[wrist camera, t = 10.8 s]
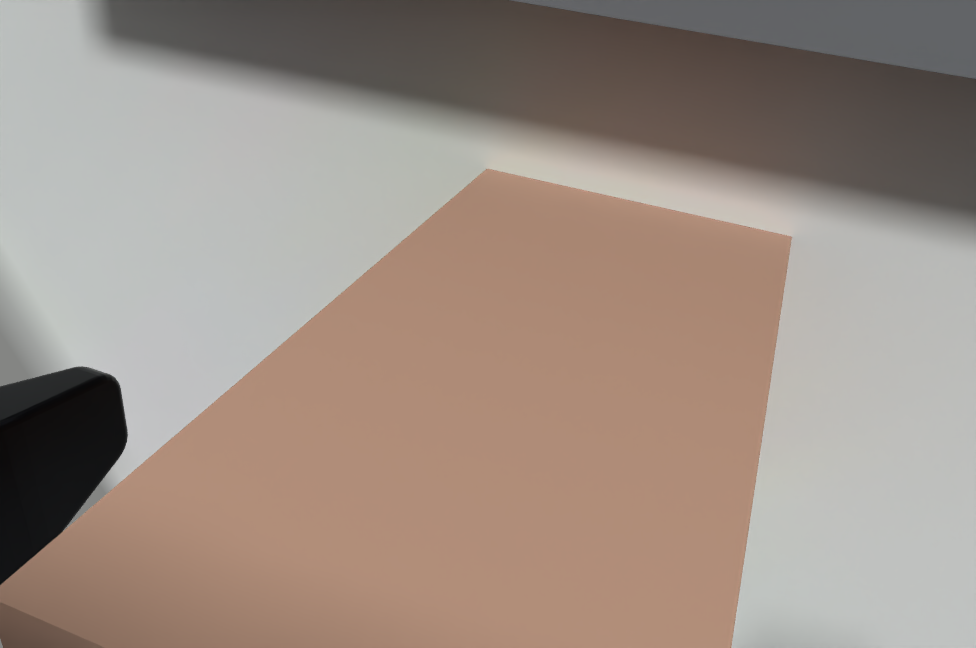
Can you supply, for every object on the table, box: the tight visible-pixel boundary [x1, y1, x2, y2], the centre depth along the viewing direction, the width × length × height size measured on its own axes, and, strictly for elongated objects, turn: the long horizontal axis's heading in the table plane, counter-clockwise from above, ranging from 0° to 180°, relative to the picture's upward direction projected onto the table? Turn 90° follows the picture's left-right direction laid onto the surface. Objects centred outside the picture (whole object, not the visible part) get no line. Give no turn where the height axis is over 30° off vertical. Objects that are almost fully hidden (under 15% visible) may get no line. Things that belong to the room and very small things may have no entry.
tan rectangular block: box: [0, 169, 792, 648], centre depth 9 cm, size 4×4×8 cm
